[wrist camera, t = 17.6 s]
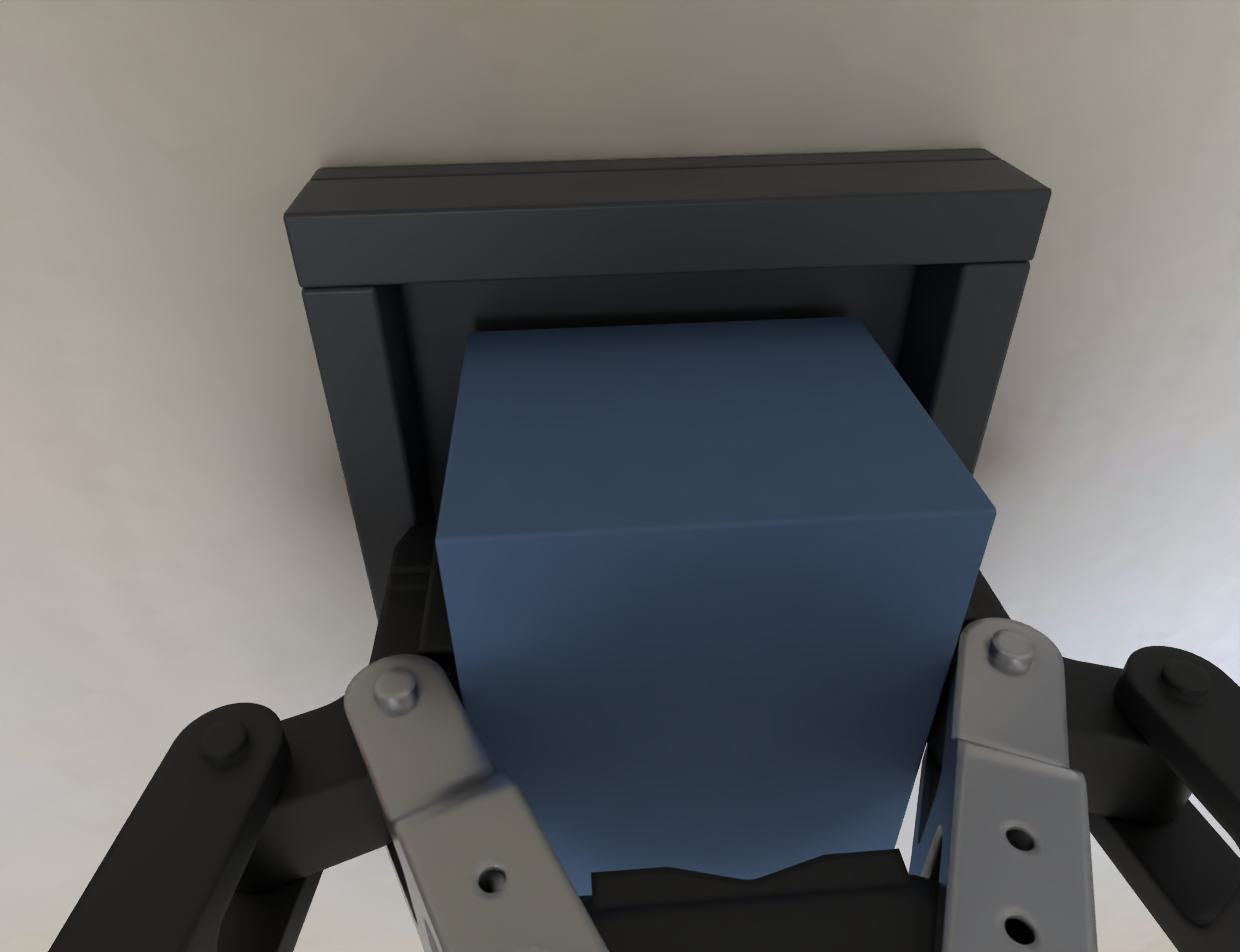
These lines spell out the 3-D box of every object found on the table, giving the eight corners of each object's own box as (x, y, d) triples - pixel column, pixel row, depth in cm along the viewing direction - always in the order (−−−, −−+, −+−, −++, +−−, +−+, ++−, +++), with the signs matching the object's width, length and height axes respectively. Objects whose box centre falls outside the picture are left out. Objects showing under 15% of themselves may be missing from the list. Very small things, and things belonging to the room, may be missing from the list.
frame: (316, 167, 12) (281, 213, 11) (987, 147, 13) (1054, 189, 11) (461, 877, 23) (455, 957, 21) (827, 849, 24) (850, 924, 22)
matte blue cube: (467, 330, 13) (433, 540, 9) (858, 314, 13) (999, 509, 9) (506, 656, 17) (495, 904, 13) (806, 637, 17) (888, 873, 13)
